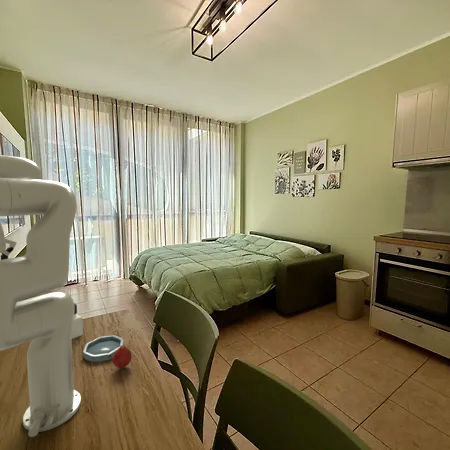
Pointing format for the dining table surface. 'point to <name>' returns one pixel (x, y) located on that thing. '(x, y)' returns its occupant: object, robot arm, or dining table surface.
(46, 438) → the dining table surface
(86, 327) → the dining table surface
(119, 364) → the onion
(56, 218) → the robot arm
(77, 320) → the container
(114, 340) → the dish
